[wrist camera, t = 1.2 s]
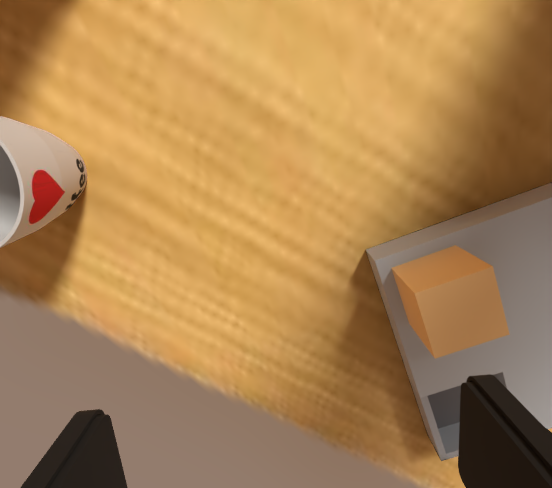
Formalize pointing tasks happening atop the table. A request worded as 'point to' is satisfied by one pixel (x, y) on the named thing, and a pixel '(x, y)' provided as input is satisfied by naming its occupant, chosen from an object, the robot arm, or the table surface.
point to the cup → (35, 179)
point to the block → (451, 300)
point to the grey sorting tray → (515, 299)
